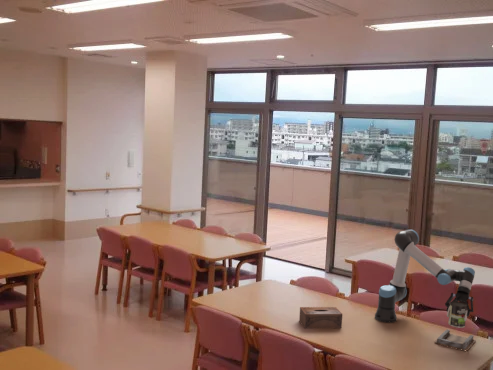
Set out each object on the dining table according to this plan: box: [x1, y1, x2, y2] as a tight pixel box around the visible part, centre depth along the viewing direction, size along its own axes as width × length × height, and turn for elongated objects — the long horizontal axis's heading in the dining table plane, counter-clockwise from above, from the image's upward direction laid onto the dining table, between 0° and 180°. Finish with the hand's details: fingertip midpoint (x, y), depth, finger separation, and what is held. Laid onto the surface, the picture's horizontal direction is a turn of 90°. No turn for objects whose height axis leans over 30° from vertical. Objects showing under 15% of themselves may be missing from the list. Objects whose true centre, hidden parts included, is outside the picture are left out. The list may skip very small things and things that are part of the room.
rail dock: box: [434, 328, 476, 352], centre depth 348 cm, size 20×22×4 cm
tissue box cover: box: [299, 306, 343, 329], centre depth 369 cm, size 26×14×10 cm, turn 99°
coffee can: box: [448, 300, 467, 329], centre depth 346 cm, size 10×10×14 cm
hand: (456, 318), depth 344 cm, fingers closed on coffee can, 10 cm apart
